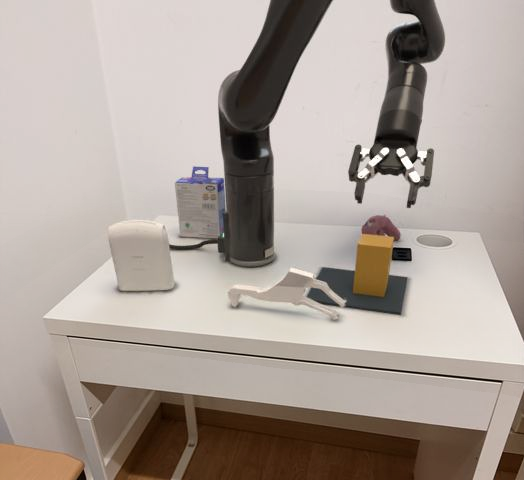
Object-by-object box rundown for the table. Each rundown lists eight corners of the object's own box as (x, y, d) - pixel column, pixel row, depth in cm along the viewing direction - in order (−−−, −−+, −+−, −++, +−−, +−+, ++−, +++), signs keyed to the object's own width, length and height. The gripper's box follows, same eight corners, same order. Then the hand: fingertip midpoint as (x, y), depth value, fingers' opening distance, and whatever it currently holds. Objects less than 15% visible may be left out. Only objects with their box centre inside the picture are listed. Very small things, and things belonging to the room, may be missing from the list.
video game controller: (384, 243, 108) (374, 213, 106) (403, 237, 105) (393, 207, 103) (365, 257, 101) (354, 225, 99) (384, 252, 98) (373, 219, 96)
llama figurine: (320, 344, 82) (227, 297, 82) (351, 292, 75) (249, 240, 75) (318, 350, 81) (223, 302, 81) (350, 297, 74) (246, 245, 74)
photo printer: (115, 292, 86) (101, 225, 79) (121, 282, 90) (108, 217, 83) (172, 292, 86) (163, 225, 79) (176, 281, 89) (168, 216, 82)
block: (352, 293, 84) (357, 244, 79) (357, 281, 88) (362, 233, 83) (384, 297, 82) (391, 247, 77) (387, 284, 86) (394, 236, 81)
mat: (304, 301, 82) (305, 299, 82) (322, 268, 93) (322, 266, 93) (400, 314, 78) (400, 312, 78) (407, 279, 89) (407, 277, 89)
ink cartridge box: (228, 231, 111) (224, 166, 103) (221, 239, 107) (217, 172, 99) (187, 229, 113) (181, 164, 105) (179, 237, 109) (172, 170, 101)
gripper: (359, 106, 85) (341, 189, 82) (443, 108, 81) (428, 196, 78) (360, 133, 92) (344, 210, 89) (438, 136, 88) (424, 217, 86)
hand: (383, 203), depth 84 cm, fingers open, 8 cm apart
